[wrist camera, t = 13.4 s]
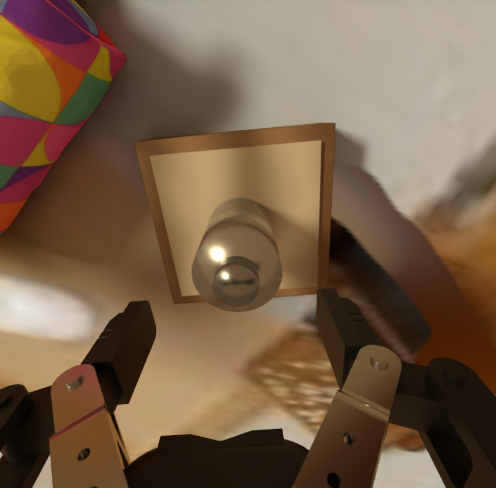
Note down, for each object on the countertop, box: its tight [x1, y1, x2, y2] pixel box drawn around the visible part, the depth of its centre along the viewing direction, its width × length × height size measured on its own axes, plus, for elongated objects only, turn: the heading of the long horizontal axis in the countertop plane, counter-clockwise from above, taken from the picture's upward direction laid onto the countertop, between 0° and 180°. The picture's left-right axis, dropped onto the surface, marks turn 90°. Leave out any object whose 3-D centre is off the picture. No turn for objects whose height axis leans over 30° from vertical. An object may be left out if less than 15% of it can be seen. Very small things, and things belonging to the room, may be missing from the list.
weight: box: [191, 198, 282, 312], centre depth 17 cm, size 5×5×8 cm
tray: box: [134, 123, 335, 304], centre depth 23 cm, size 14×14×3 cm
